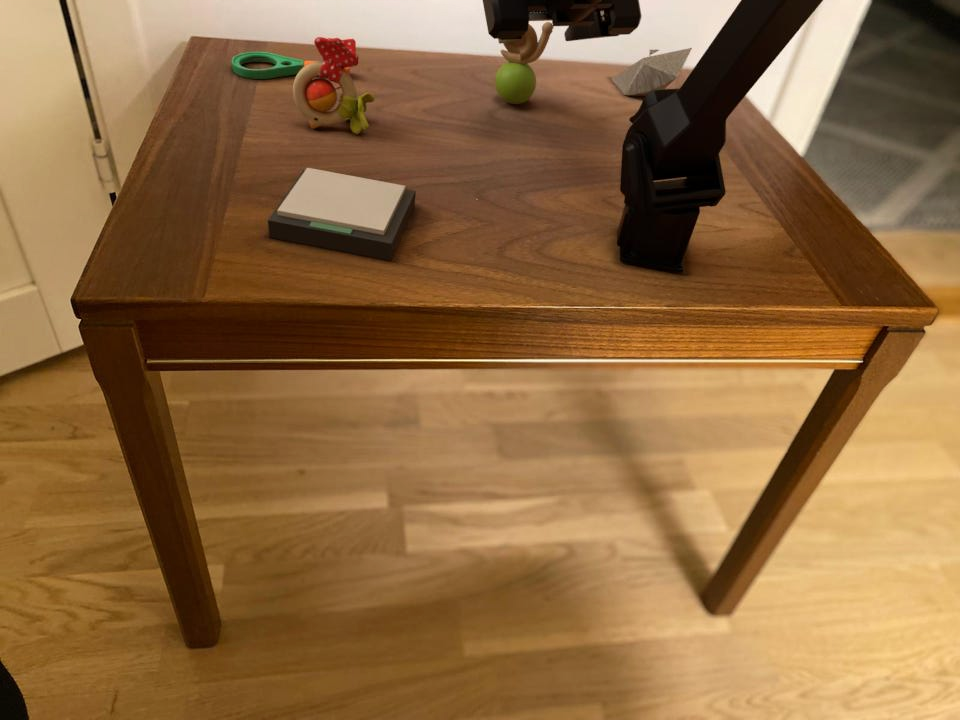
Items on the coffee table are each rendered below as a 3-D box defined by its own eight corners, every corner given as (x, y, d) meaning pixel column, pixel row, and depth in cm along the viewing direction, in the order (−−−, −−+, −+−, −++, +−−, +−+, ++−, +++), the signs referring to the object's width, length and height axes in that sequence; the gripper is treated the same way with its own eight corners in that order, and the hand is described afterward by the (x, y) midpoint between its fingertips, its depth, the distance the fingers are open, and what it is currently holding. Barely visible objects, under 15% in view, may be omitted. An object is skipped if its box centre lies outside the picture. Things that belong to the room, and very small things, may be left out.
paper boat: (601, 87, 104) (602, 46, 109) (617, 121, 108) (617, 80, 113) (687, 57, 98) (685, 15, 103) (700, 94, 103) (697, 52, 108)
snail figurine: (536, 115, 97) (553, 21, 89) (489, 106, 98) (501, 11, 90) (542, 99, 101) (558, 7, 93) (496, 90, 102) (508, -2, 94)
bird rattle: (317, 156, 87) (388, 128, 87) (271, 69, 80) (349, 38, 79) (315, 132, 92) (383, 105, 91) (271, 47, 84) (345, 17, 83)
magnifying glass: (229, 77, 95) (228, 64, 94) (235, 59, 100) (234, 46, 99) (349, 85, 98) (349, 72, 97) (350, 66, 102) (350, 54, 101)
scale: (414, 207, 78) (416, 185, 76) (391, 260, 71) (391, 238, 69) (304, 186, 79) (302, 164, 77) (269, 237, 71) (266, 214, 69)
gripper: (656, -103, 80) (587, -27, 95) (498, -109, 74) (451, -27, 89) (673, 0, 81) (602, 60, 95) (518, 2, 74) (467, 66, 89)
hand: (533, 38), depth 92 cm, fingers open, 9 cm apart
